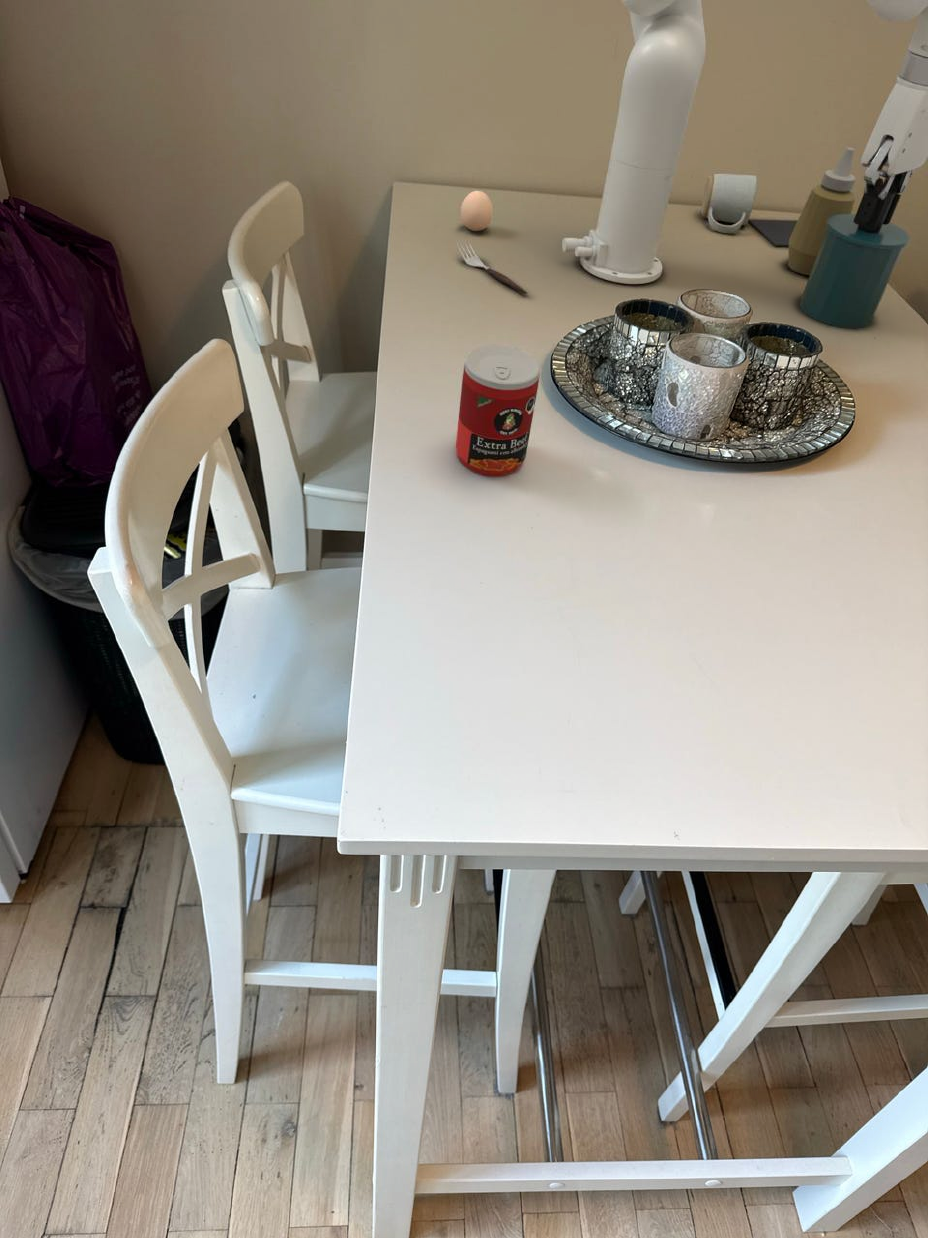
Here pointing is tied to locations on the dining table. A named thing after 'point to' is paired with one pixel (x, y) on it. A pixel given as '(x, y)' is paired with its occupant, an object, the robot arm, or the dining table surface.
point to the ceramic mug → (728, 200)
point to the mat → (775, 230)
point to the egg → (476, 211)
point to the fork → (478, 263)
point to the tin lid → (875, 238)
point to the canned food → (496, 409)
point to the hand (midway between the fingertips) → (871, 222)
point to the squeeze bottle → (821, 213)
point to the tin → (847, 282)
